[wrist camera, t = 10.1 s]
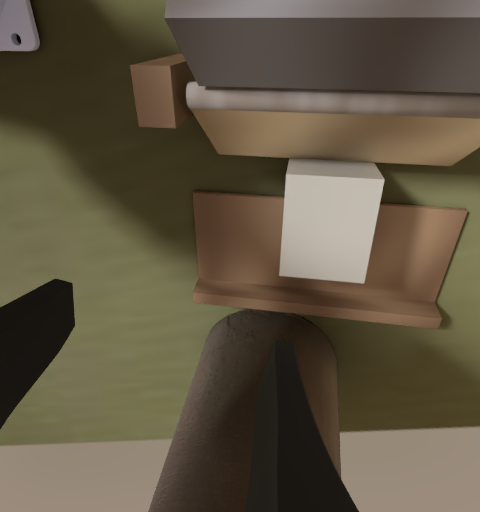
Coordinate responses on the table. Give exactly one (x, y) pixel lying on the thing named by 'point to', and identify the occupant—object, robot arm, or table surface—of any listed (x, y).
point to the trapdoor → (334, 77)
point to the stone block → (329, 219)
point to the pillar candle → (240, 410)
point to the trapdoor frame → (270, 237)
